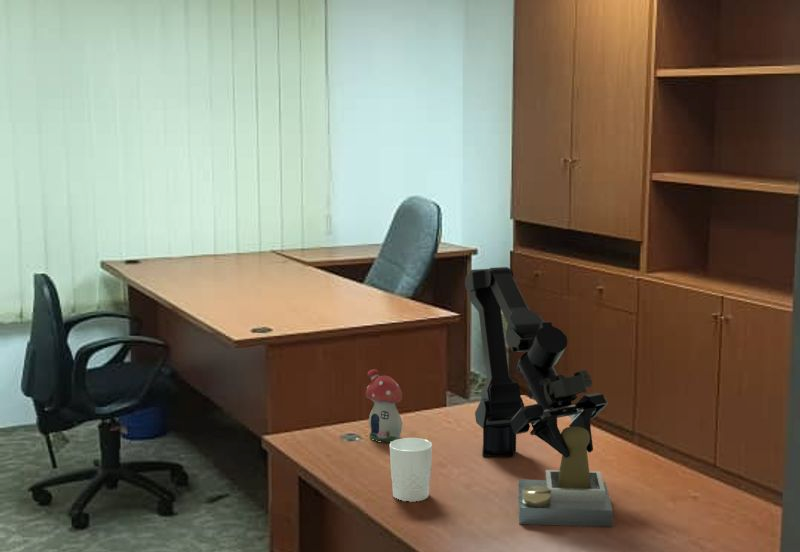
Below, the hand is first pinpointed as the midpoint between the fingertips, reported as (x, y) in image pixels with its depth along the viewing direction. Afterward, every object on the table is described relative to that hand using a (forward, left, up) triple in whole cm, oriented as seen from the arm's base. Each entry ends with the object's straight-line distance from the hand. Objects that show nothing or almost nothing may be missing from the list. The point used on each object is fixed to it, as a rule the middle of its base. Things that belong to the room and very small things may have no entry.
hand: (579, 453), depth 189 cm
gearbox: (-3, -1, -10) cm, 11 cm away
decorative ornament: (-40, +38, -10) cm, 56 cm away
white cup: (-31, +4, -10) cm, 33 cm away
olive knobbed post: (-1, +1, -7) cm, 7 cm away
